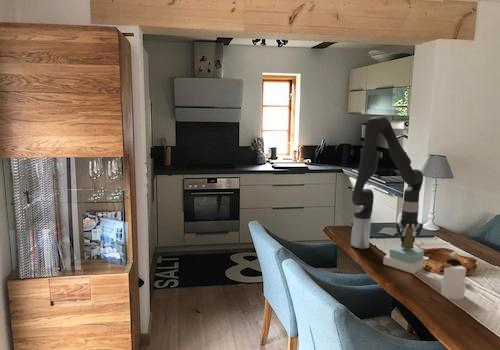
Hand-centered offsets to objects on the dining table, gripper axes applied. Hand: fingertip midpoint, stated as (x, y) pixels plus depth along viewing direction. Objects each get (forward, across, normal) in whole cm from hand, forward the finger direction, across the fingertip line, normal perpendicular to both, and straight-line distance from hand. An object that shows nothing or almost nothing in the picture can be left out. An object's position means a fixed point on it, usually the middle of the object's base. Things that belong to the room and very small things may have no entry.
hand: (407, 242), depth 204 cm
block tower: (+12, 0, 0) cm, 12 cm away
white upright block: (+12, +9, -32) cm, 35 cm away
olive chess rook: (+2, 0, 0) cm, 2 cm away
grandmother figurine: (+12, +17, -14) cm, 25 cm away
